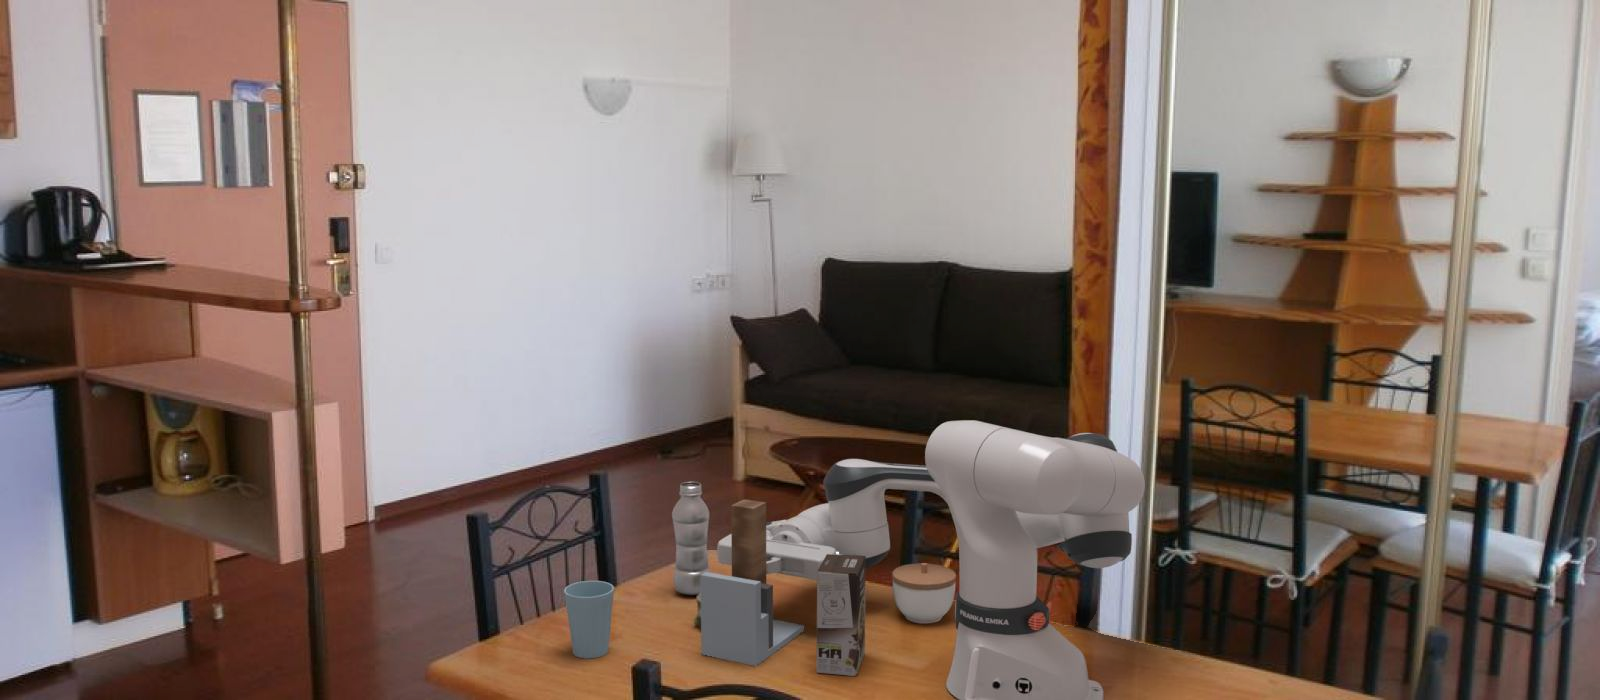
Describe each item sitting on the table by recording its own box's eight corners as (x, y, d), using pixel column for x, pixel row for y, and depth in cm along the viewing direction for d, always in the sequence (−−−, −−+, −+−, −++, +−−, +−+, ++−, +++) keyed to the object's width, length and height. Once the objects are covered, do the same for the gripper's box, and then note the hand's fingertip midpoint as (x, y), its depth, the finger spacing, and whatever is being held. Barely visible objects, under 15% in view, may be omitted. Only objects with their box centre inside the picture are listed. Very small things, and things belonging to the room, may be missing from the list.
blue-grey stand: (803, 631, 206) (803, 555, 204) (756, 666, 192) (755, 584, 190) (751, 621, 210) (751, 546, 208) (701, 654, 196) (700, 574, 194)
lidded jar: (918, 601, 220) (919, 549, 218) (968, 616, 212) (969, 563, 211) (878, 617, 212) (879, 564, 211) (928, 634, 205) (929, 578, 203)
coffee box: (857, 677, 188) (858, 573, 185) (815, 673, 189) (815, 570, 186) (866, 653, 197) (867, 554, 194) (826, 650, 198) (826, 552, 195)
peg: (766, 635, 200) (766, 502, 197) (754, 644, 197) (753, 508, 193) (744, 631, 202) (743, 499, 199) (732, 639, 199) (731, 505, 195)
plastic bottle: (710, 599, 220) (709, 489, 217) (671, 599, 220) (669, 489, 217) (712, 586, 227) (711, 479, 224) (674, 587, 227) (673, 479, 224)
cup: (622, 644, 200) (620, 581, 199) (605, 663, 193) (603, 598, 191) (577, 640, 202) (575, 578, 200) (559, 659, 194) (556, 595, 193)
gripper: (849, 573, 208) (811, 599, 196) (742, 555, 217) (700, 579, 205) (849, 536, 207) (811, 561, 195) (742, 520, 216) (699, 542, 204)
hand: (753, 570), depth 200 cm, fingers closed, pressing on peg
